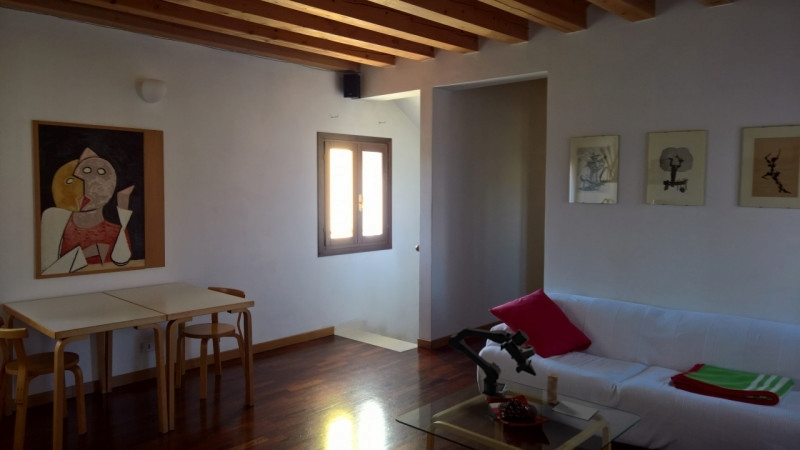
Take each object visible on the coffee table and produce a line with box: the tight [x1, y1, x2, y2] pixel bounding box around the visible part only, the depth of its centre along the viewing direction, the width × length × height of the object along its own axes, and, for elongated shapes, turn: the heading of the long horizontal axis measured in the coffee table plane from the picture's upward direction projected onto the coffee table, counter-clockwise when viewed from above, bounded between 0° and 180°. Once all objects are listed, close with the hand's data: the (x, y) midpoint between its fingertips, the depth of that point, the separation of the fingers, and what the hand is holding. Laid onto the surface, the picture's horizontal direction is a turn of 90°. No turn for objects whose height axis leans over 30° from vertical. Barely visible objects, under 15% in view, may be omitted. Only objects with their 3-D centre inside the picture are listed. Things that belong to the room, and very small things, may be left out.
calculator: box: [488, 402, 500, 420], centre depth 284 cm, size 11×4×15 cm
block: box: [546, 372, 559, 405], centre depth 297 cm, size 4×4×14 cm
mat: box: [551, 400, 599, 422], centre depth 288 cm, size 18×14×1 cm
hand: (535, 375), depth 299 cm, fingers closed
